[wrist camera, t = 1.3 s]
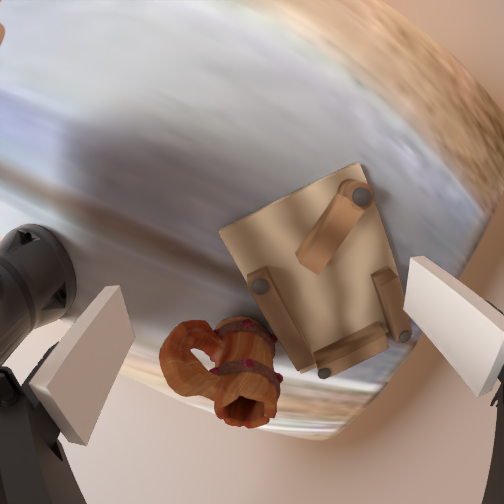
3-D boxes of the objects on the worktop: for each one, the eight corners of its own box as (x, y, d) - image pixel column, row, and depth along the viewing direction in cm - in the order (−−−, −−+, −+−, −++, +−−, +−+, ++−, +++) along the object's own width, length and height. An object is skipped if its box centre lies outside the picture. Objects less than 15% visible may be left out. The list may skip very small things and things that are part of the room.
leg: (347, 173, 32) (359, 177, 28) (366, 188, 32) (380, 194, 28) (293, 251, 34) (298, 264, 31) (313, 264, 35) (321, 277, 31)
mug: (288, 331, 40) (307, 413, 26) (252, 367, 42) (255, 449, 28) (199, 272, 37) (176, 345, 22) (167, 315, 39) (136, 393, 24)
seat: (299, 367, 42) (305, 391, 37) (219, 229, 35) (215, 243, 30) (405, 314, 40) (421, 333, 35) (354, 162, 33) (372, 165, 28)
